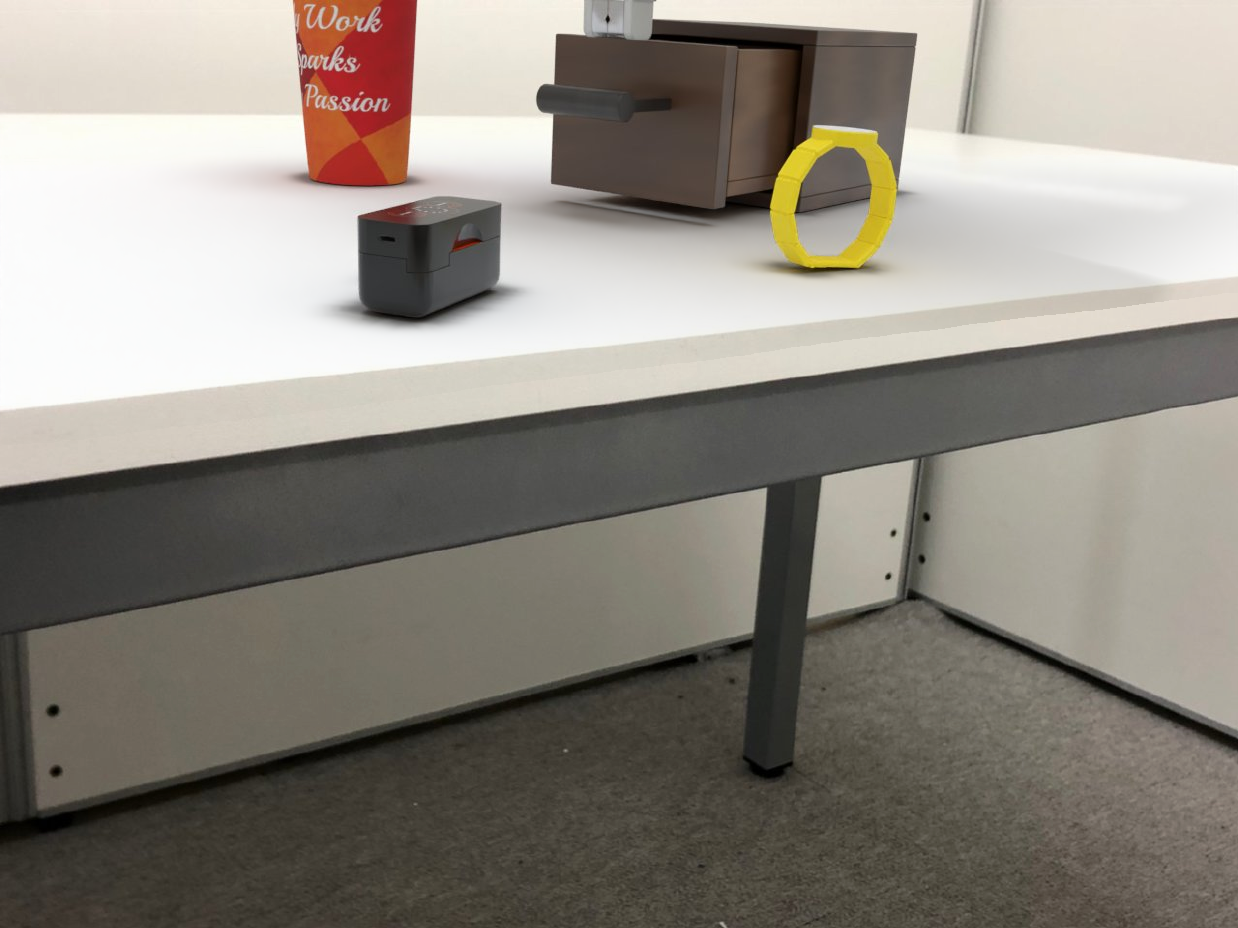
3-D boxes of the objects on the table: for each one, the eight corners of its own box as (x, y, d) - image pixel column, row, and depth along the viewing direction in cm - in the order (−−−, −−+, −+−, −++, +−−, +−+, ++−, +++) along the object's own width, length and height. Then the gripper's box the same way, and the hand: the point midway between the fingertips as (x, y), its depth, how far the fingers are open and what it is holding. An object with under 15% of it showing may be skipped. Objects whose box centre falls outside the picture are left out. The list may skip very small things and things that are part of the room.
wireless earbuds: (514, 285, 49) (516, 200, 48) (423, 323, 42) (423, 226, 41) (407, 270, 50) (407, 188, 49) (304, 305, 44) (301, 211, 43)
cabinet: (799, 212, 70) (817, 30, 67) (627, 187, 76) (636, 18, 73) (897, 191, 81) (918, 33, 77) (740, 170, 87) (752, 22, 83)
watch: (793, 278, 53) (808, 131, 51) (753, 265, 55) (765, 124, 53) (899, 269, 56) (917, 131, 54) (857, 257, 58) (873, 124, 56)
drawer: (659, 219, 60) (671, 46, 57) (491, 191, 65) (494, 32, 63) (824, 188, 73) (839, 47, 71) (673, 168, 79) (682, 36, 76)
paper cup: (261, 176, 72) (249, -91, 67) (354, 166, 78) (350, -80, 73) (364, 193, 68) (360, -89, 64) (454, 181, 75) (456, -77, 70)
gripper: (871, -288, 54) (838, 51, 59) (504, -256, 65) (500, 29, 70) (804, -321, 49) (773, 52, 54) (418, -280, 60) (421, 28, 65)
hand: (617, 39), depth 62 cm, fingers closed
